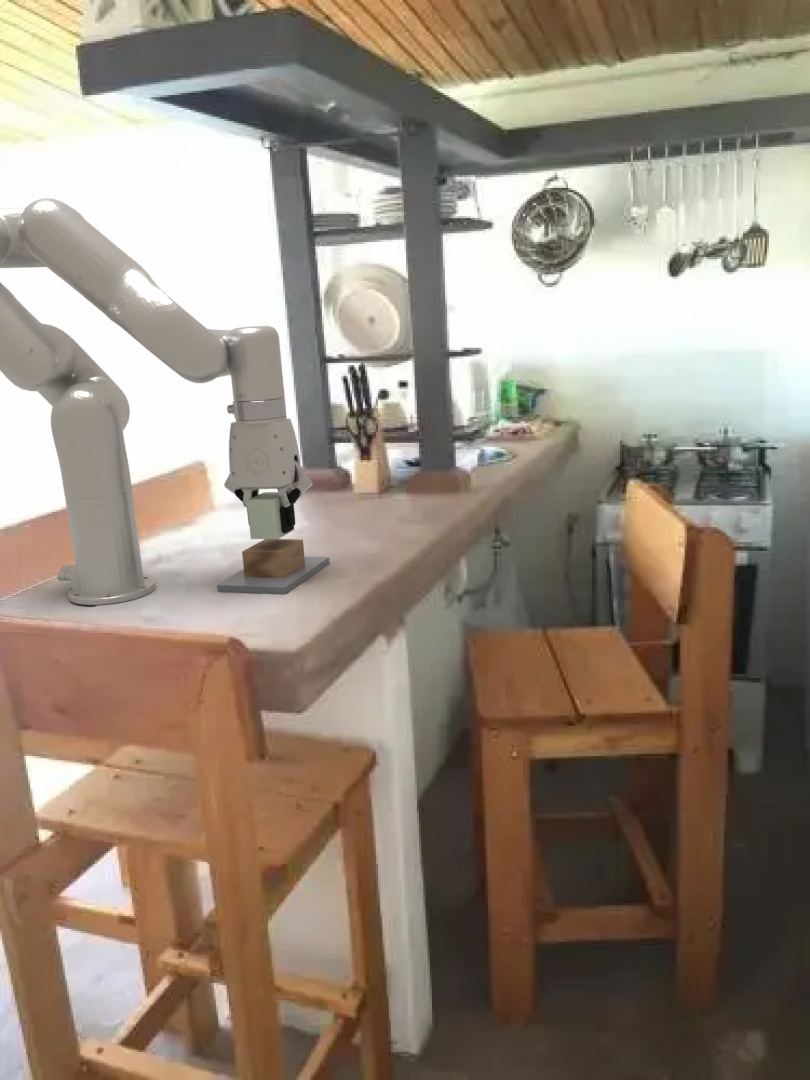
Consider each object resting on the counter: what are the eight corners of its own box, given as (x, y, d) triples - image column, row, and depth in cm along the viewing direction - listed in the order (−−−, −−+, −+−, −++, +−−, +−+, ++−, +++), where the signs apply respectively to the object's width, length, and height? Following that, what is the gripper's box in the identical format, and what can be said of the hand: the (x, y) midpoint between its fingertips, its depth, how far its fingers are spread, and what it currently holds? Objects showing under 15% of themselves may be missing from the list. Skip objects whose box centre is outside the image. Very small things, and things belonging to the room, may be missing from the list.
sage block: (250, 538, 141) (246, 500, 140) (268, 529, 147) (264, 492, 146) (278, 539, 140) (274, 500, 139) (294, 529, 146) (290, 491, 144)
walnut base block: (244, 577, 142) (242, 551, 141) (267, 563, 150) (265, 538, 149) (283, 578, 140) (281, 552, 139) (305, 564, 148) (302, 539, 147)
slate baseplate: (217, 591, 139) (216, 585, 139) (267, 561, 155) (267, 555, 154) (285, 594, 136) (284, 587, 135) (329, 563, 151) (329, 557, 151)
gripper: (197, 416, 138) (211, 536, 143) (302, 412, 133) (313, 537, 137) (222, 410, 145) (235, 525, 149) (322, 406, 140) (333, 525, 144)
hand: (272, 529), depth 143 cm, fingers closed on sage block, 4 cm apart
